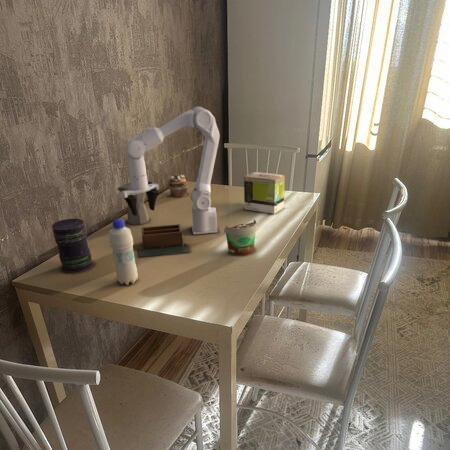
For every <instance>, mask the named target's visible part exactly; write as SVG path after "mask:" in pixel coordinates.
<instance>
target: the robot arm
mask: <svg viewBox="0 0 450 450" xmlns="http://www.w3.org/2000/svg"><path fill="white" fill-rule="evenodd" d="M217 125H218V124H217V121H216V118H215V116H214V115H213V114H212V112H211V111H210V110H208V109H206V108H204V107H202V106H195V107H193V108H192V109H188V110H186V111H185V112H183V113H181V114H179V115H178V116H176V117H174V118H172V119H171V120H170V121H168V122H167V123H165V124H163V125H162V126H160V127H156V126H152V127H151V126H149V127H147V128H146V131H144V132H142V133H141V134H139V135H138V134H136V135H135V136H134V137H135V138H131V139H129V140H128V141H127V142H126V143H125V151H126V154H127V161H128V169H129V177H130V183H132V188H130V189H127V190H125V191H122V193H121V197H122V198H123V199H124V201H125V203H126V202H127V203H126V204H127V206H128V205H129V207H130V209H131V211H132V214H133V215H135V216H136V215H137V208H136V201H137V198H135V197H134V196H133V195H136V194H140V193H143V192H145V195H146V197H147V200H148V201H147V203H148V208H149V210H151V211H155V208H156V201H157V198H158V195H159V190H160V187H159V183H156V182H152V183H153V184H148V182H149V181H148V175H147V168H146V161H145V157H144V156H145V152H147V153H148V152H149V151H151V150H152V149H154V148H156V147H158V146H160V145H161V144H163V142H164V138H166V137H167V136H169V135H171V134H174V133H175V132H177V131H179V130H181V129H183V128H197V129H198V130H199V131H200V132H201V134H202V135H203V137H204V142H203V147H202V154H201V157H200V163H199V169H198V174H197V179H196V181H195V184H194V187H193V190H191V192H190V198H189V199H190V201H191V202H192V203H193V204H192V206H191V217H192V226H190V228H191V231H192V235H195V236H196V235H204V234H216V233H218V215H217V209H216V207H213V206H212V199H211V193H212V191H211V190H212V189H211V183H212V178H213V173H214V166H215V162H216V157H217V153H218V148H219V142H220V137H221V136H220V135H221V134H220V131H219V128H218V126H217Z"/></svg>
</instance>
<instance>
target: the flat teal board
mask: <svg viewBox="0 0 450 450" xmlns="http://www.w3.org/2000/svg"><path fill="white" fill-rule="evenodd" d="M138 250H139V255H138V256H139V258H148V257H159V256H165V255H166V256H168V255H176V254H177V255H178V254H188V253H190V251H189V246H188V244H187V243H184V242H183V245H177V246H167V247H157V248H147V249H144V247H139V249H138Z"/></svg>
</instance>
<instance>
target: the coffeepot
mask: <svg viewBox="0 0 450 450" xmlns="http://www.w3.org/2000/svg"><path fill="white" fill-rule="evenodd" d="M153 183H154V182H152V181H148V184H153ZM130 188H132V183H131V182H128V183H125V184H122V185H121V186H119V187H117V188H116V189H117V191H119V192H120V193H121V194H122V191H125V190H127V189H130ZM145 195H146V192H143V193H140V194H136V195H133V196H134V197H135V198H137V201H136V208H137V215H136V216H135V215H133V214H132V211H131V209H130V207H129V205H128V203H127V202H126V201H125V203H126V204H127V216H126V218H127V223H128V224H129V225H143V224H146V223H149V221H150V217H149V213H148V211H147V210H148V209H147V207H146V205H145V197H146V196H145ZM146 202H148V199H147V200H146Z"/></svg>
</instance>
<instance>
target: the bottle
mask: <svg viewBox="0 0 450 450" xmlns="http://www.w3.org/2000/svg"><path fill="white" fill-rule="evenodd" d="M125 223H126V222H125V220H124V219H123V218H115V219H114V220H113V221H112V229H110V230H109V232H108V233H109V244H110V248H111V249H112V254H113V260H114V266H115V275H116V279H117V281H118V283H120V284H121V285H124V284H125V285H126V286H129V283H131V284H132V285H133V284H135V282H137V281H138V279H139V275H138V269H137V264H136V258H135V253H134V247H133V246H134V237H133V235H132V231H131V229H130V228H129V227H126V224H125Z"/></svg>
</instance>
